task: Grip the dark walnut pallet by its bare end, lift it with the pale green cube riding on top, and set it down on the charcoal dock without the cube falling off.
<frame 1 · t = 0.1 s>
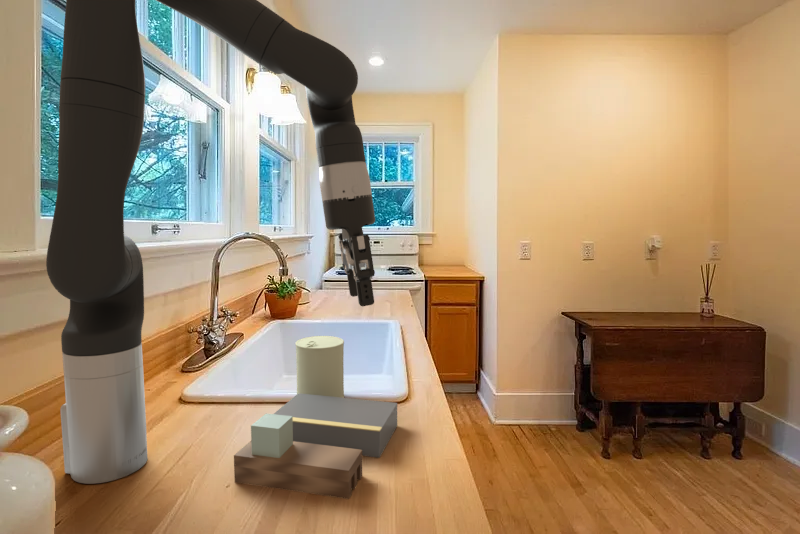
hand: (361, 300, 74), 22 cm above the worktop, tool pointing down, fingers open, 8 cm apart
pale green cube: (272, 449, 64), point 4 cm above the worktop
pallet: (299, 480, 64), on the worktop
can: (320, 401, 91), on the worktop
dock: (335, 434, 77), on the worktop
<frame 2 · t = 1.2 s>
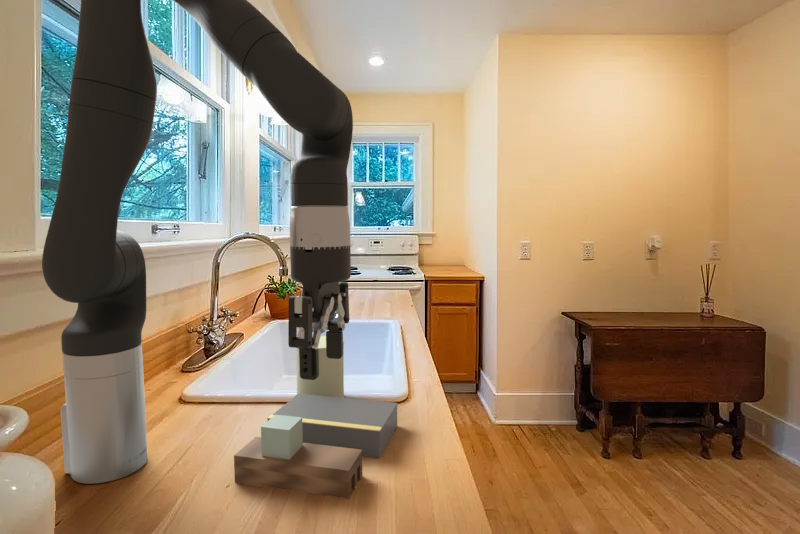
hand: (322, 367, 61), 16 cm above the worktop, tool pointing down, fingers open, 8 cm apart
pale green cube: (282, 450, 64), point 4 cm above the worktop
everything else where it was.
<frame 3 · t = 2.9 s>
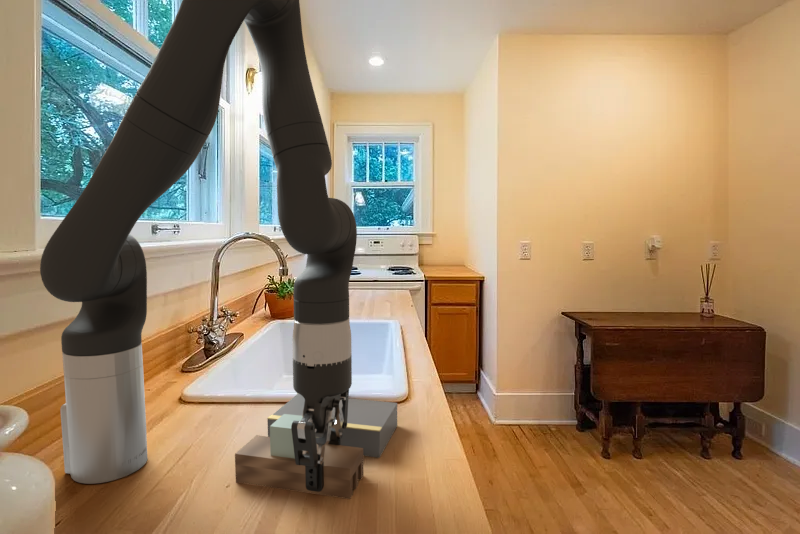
hand: (323, 476, 63), 1 cm above the worktop, tool pointing down, fingers closed on pallet, 5 cm apart
pale green cube: (291, 449, 64), point 4 cm above the worktop, touching pallet
pallet: (300, 479, 64), on the worktop, touching pale green cube, gripper
everything else where it was.
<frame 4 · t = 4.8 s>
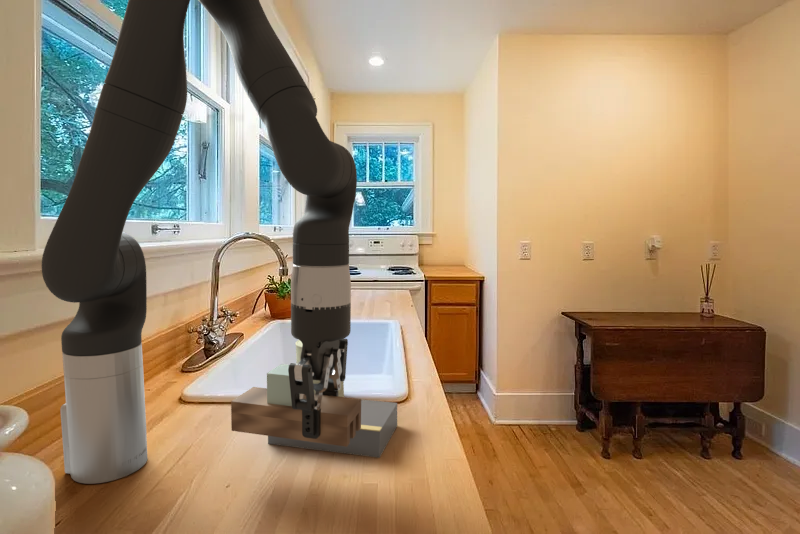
hand: (320, 426, 62), 8 cm above the worktop, tool pointing down, fingers closed on pallet, 5 cm apart
pale green cube: (288, 399, 63), point 11 cm above the worktop, touching pallet
pallet: (297, 429, 63), point 7 cm above the worktop, touching pale green cube, gripper
everything else where it was.
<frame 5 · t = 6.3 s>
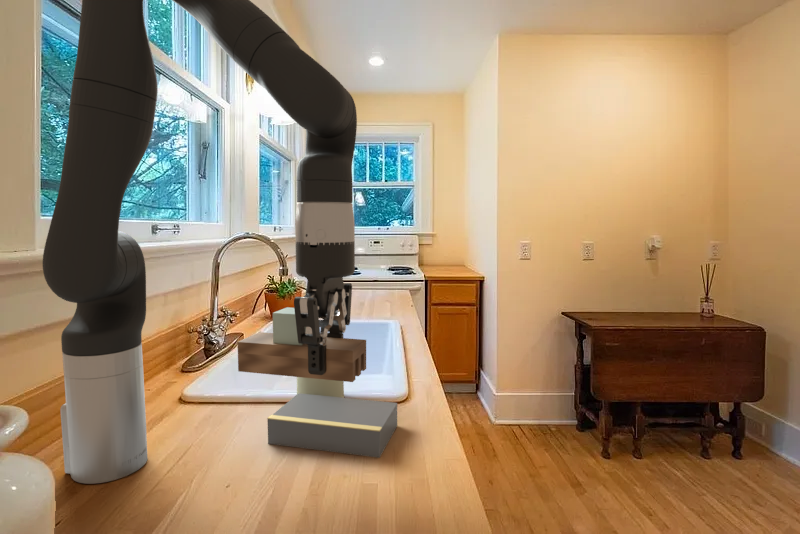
hand: (326, 365, 63), 15 cm above the worktop, tool pointing down, fingers closed on pallet, 5 cm apart
pale green cube: (294, 340, 63), point 19 cm above the worktop, touching pallet
pallet: (303, 369, 63), point 15 cm above the worktop, touching pale green cube, gripper
everything else where it was.
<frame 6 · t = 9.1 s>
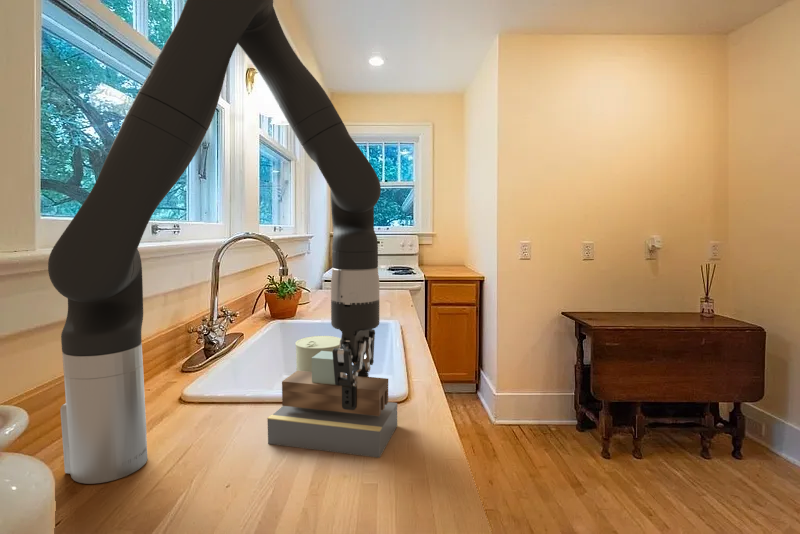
hand: (355, 401, 75), 6 cm above the worktop, tool pointing down, fingers closed on pallet, 5 cm apart
pale green cube: (328, 379, 76), point 9 cm above the worktop, touching pallet
pallet: (335, 404, 76), point 5 cm above the worktop, touching pale green cube, gripper
everything else where it was.
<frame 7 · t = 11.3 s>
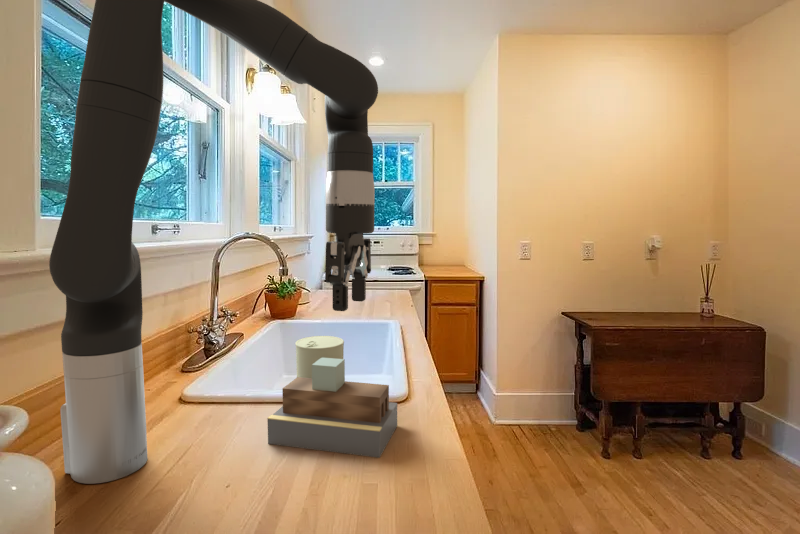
hand: (349, 305, 75), 21 cm above the worktop, tool pointing down, fingers open, 8 cm apart
pale green cube: (328, 386, 76), point 8 cm above the worktop, touching pallet
pallet: (336, 410, 76), point 4 cm above the worktop, touching pale green cube, dock
everything else where it was.
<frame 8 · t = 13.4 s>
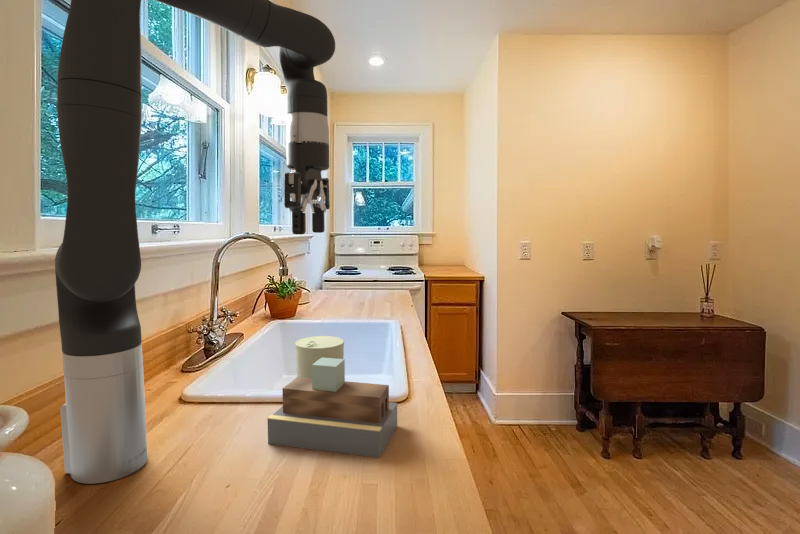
hand: (309, 233, 86), 32 cm above the worktop, tool pointing down, fingers open, 8 cm apart
nothing on the worktop moved.
at the end: pallet inside the target area on the dock (0.2 cm from its centre), point 4.0 cm above the dock's base; pale green cube point 8.0 cm above the worktop; pale green cube tilted 0° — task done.
